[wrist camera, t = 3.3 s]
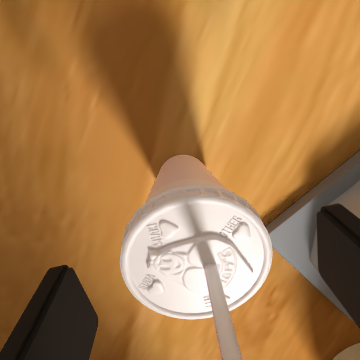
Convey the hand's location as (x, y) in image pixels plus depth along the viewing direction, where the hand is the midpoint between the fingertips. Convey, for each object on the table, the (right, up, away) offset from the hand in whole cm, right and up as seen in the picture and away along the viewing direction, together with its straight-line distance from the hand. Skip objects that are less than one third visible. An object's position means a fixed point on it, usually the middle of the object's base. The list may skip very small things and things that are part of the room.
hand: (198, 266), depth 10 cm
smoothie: (-1, +4, +10) cm, 11 cm away
